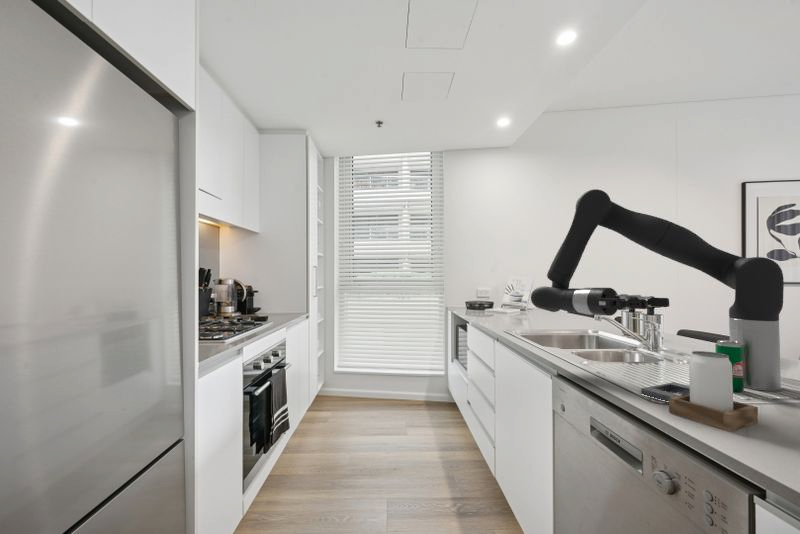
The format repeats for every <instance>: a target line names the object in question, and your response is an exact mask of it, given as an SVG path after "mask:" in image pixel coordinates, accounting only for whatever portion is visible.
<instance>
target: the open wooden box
mask: <svg viewBox="0 0 800 534" xmlns="http://www.w3.org/2000/svg"><path fill="white" fill-rule="evenodd" d="M678 395H679V396H675V397H670V398H669V403H668V411H669V412H668V413H670V414H673V415H675V416H679V417H683V418H684V419H688V420H692V421H695V422H698V423H701V424H705V425H707V426H712V427H714V428H717V429H720V430H724V431H726V432H735V431H739V430H741V429H744V428H747V427H750V426H753V425H756V424H758V423H759V409H758V406H756V405H751V404H747V403H742V402H739V401H736V400H733V410H732V411H729V412H724V411H720V410H717V409H713V408H709V407H706V406H702V405H698V404H695V403H691V402H690V393H688V394H678Z"/></svg>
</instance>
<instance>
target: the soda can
mask: <svg viewBox="0 0 800 534" xmlns="http://www.w3.org/2000/svg"><path fill="white" fill-rule="evenodd" d="M716 341H717V342H716V343H715V344H714V348H715V353H721V354H725V355H728V356H729V357H728V358H729V360H730V362H731V364H732V379H733V393H742V392H744V390H745V387H744V374H743V347H742V346H741V343H740V342H737V341H730V339H728V340H727V339H726V340H725V339H718V340H716Z"/></svg>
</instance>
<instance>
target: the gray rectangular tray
mask: <svg viewBox="0 0 800 534" xmlns="http://www.w3.org/2000/svg"><path fill="white" fill-rule="evenodd" d="M665 391H667V392H665ZM673 391H674V392H673ZM640 392H641V393H640V395H641V394H644V395H647V396H650V397H654V398H657V399H661V400H665V401H669V398H670V397H675V396H679V395H680V394H681V393H682V394H681V395H684V394H688V393H690V385H686V384H683V383H678V382H675V381H674V382H673V381H672V382H668V383H662V384H657V385H652V386H648V387H647V386H646V387H641V389H640ZM672 392H673V393H672ZM677 392H678V393H677ZM676 393H677V394H676Z"/></svg>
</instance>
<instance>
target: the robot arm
mask: <svg viewBox="0 0 800 534" xmlns="http://www.w3.org/2000/svg"><path fill="white" fill-rule="evenodd" d="M572 218H573V219H572V222H571V224H570V227H569V230H568V232H567V234H566V236H565V237H564V240H563V242H562V243H561V245H560V247H559V248H558V250H557V253H556V254H555V256H554V258H553V261H552V262H551V264H550V267H549V269H548V270H547V273H546V277H547V279H548V280H549V281H551V286H545V285H544V286H538V287H536V288H534V290H533V291H532V293H530V301H531V304H532V305H534V307H536V308H538V309H541V310H545V311H549V312H552V313H556V312H559V311H564V312H569V313H580V314H584V315H592V316H593V315H595V316H606V317H607V316H608V317H610V316H613V315H615V314H616V313H617V312H618V311H627V310H628V311H629V310H630V309H631V310H632V309H634V310H636V309H637V310H646V309H648V308H653V307H654V308H668V307H670V299H669V298H668V297H655V296H653V295H650V296H642V295H640V294H632V295H631V294H627V293H624V294H623V293H622V294H618V293H617V291H616V290H615V289H614V288H612V287H582V288H572V287H571V288H570V282H571V280H572V278H573V277H574V275H575V272H576V270H577V268H578V265H579V263H580V261H581V259H582V257H583V254H584V251H585V250H586V247H587V246H588V243H589V241H590V239H591V237H592V235H593V234H594V232H595V231H596V229H597V227H598V226H600V227H602V228H605V229H608V230H611V231H612V232H616V233H618V234H619V235H621V236H623V237H624V238H626V239H627V240H630V241H631V242H634V243H635V244H637V245H639V246H642V248H645V249H647V250H649V251H651V252H652V253H656V254H657V255H660V256H662V257H665V258H667V259H669V260H671V261H674V262H677V263H679V264H682V265H685V266H687V267H690V268H693V269H695V270H698V271H701V272H702V273H704V274H706V275H708V276H709V277H711V278H713V279H714V280H716V281H718V282H720V283H722V284H723V285H725V286H727V287H728V288H730V289H732V290H734V291H735V292H734V302H733V304H732V305H731V306H730V307H729V308H728V327H729V341H737V342H740V343H741V346H742V347H743V374H744V388H748V389H752V390H757V391H758V390H760V391H769V392H777V391H779V392H780V391H781V390H782V378H781V377H782V371H781V369H782V368H781V340H780V339H781V338H780V337H781V335H780V314H781V312H782V310H783V306H784V288H785V287H784V286H785V285H784V284H785V283H784V282H785V281H784V273H783V269H782V268H781V266H780V265H779V264H778V263H777V262H776V261H775V260H772V259H771V258H768V257H763V256H762V257H761V256H755V257H752V256H751V257H742V256H739V255H736V254H734V253H730V252H727V251H724V250H722V249H720V248H717V247H715V246H713V245H711V244H710V243H708V242H707V241H706V240H705V239H703V238H702V237H700V236H699V235H698V234H696V233H695V232H693V231H692V230H690V229H688V228H686V227H684V226H681V225H680V224H677V223H675V222H672V221H670V220H667V219H664V218H661V217H659V216H653V215H650V214H646V213H642V212H637V211H634V210H631V209H628V208H626V207H624V206H621V205H620V204H617V203H616V202H613V201H611V198H610V196H609V194H608V193H607V192H606V191H604V190H601V189H599V188H597V189H589V190H587V191H584V192H583V193H582V194H581V195H580V196H579V197H578V199H576V203H575V212H574V216H573V217H572Z"/></svg>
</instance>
